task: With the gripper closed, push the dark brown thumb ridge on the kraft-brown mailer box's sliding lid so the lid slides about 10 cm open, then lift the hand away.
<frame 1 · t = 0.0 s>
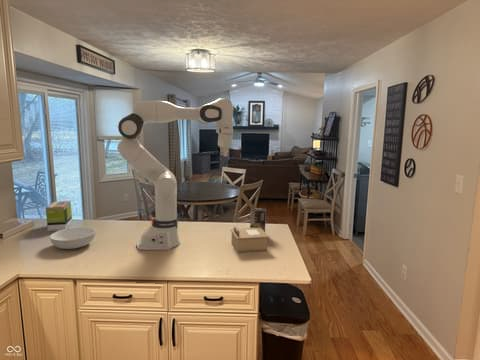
hand: (223, 155, 169), 48 cm above the countertop, fingers open, 8 cm apart
tea box: (60, 227, 193), on the countertop
lid: (249, 231, 167), point 9 cm above the countertop, slide at 0.0 cm
mailer box: (248, 247, 169), on the countertop
serving bowl: (74, 246, 164), on the countertop
coffee box: (257, 235, 187), on the countertop
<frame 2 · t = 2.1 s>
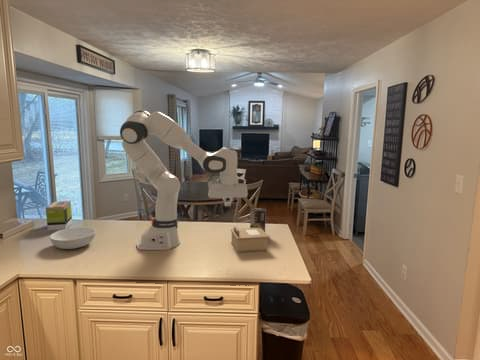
hand: (227, 205, 162), 23 cm above the countertop, fingers closed
nothing on the countertop moved.
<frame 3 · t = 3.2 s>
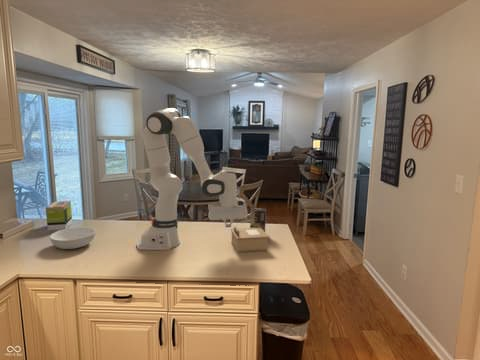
hand: (228, 227, 164), 12 cm above the countertop, fingers closed
nothing on the countertop moved.
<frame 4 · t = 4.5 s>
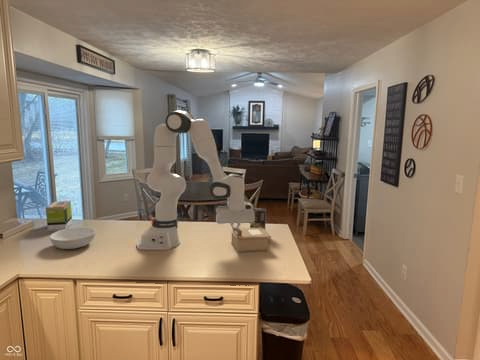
hand: (235, 230, 165), 10 cm above the countertop, fingers closed
lid: (251, 231, 168), point 9 cm above the countertop, slide at 1.3 cm, touching gripper
everything else where it was.
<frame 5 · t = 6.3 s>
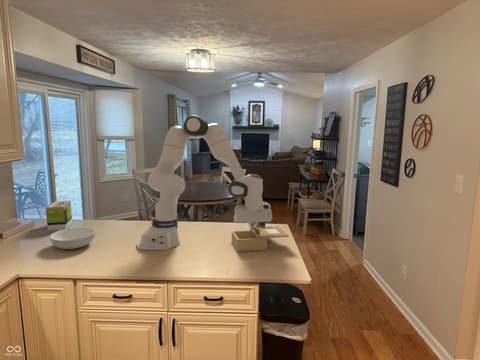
hand: (252, 229, 168), 9 cm above the countertop, fingers closed
lid: (268, 230, 170), point 9 cm above the countertop, slide at 11.0 cm, touching gripper
everything else where it was.
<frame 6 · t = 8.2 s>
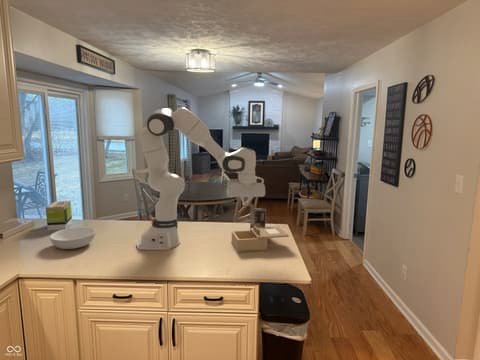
hand: (245, 205, 165), 23 cm above the countertop, fingers closed
lid: (268, 230, 170), point 9 cm above the countertop, slide at 11.0 cm
everything else where it was.
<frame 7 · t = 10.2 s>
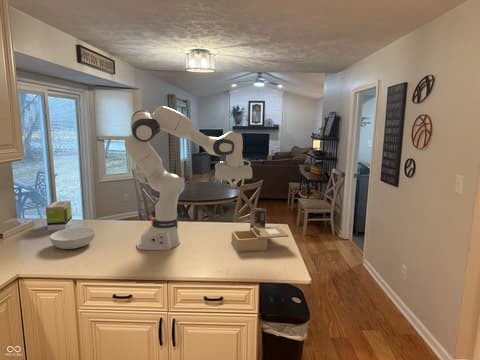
hand: (233, 187, 172), 31 cm above the countertop, fingers closed
nothing on the countertop moved.
at the end: lid slide at 11.0 cm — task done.
